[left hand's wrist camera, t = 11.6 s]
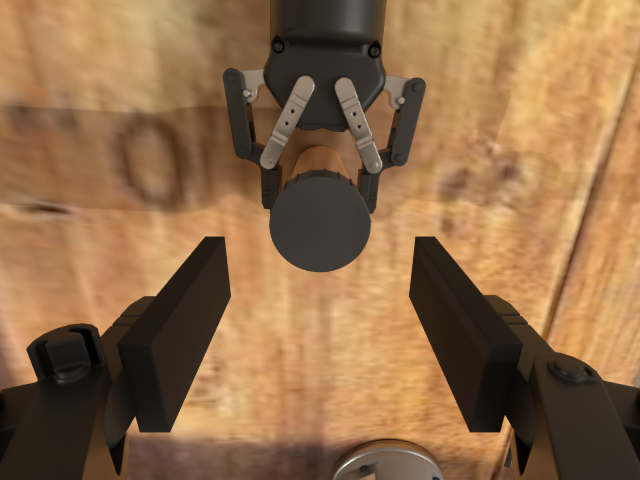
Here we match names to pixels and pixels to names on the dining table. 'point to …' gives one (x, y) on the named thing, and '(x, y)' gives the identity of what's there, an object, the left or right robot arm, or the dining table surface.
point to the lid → (320, 221)
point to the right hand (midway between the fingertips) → (318, 215)
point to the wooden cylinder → (319, 161)
